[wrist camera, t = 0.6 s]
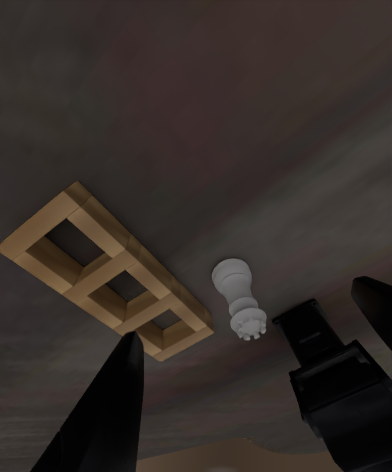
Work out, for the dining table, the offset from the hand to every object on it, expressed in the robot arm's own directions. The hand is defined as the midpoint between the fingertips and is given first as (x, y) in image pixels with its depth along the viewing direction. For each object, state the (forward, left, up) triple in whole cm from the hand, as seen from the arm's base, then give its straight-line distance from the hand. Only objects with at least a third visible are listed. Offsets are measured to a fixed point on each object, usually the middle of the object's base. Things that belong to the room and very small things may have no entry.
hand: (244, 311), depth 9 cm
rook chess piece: (-9, +2, -14) cm, 17 cm away
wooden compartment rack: (-3, +12, -14) cm, 18 cm away
